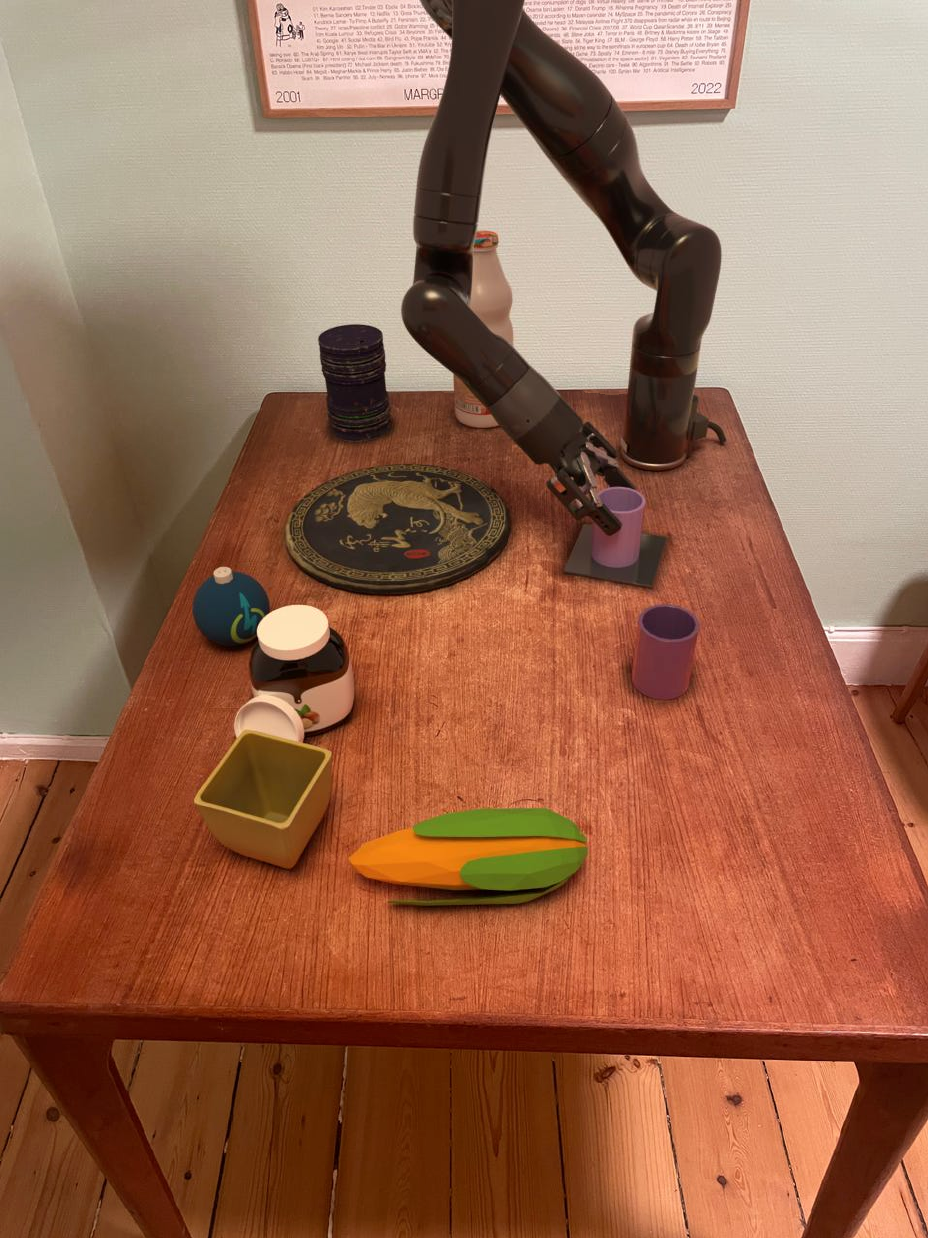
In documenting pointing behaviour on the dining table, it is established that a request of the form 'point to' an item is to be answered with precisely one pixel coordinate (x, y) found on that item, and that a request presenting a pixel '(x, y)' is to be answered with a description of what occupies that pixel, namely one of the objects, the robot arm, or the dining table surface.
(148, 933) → the dining table surface
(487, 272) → the fruit juice
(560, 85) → the robot arm
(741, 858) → the dining table surface
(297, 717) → the spread jar
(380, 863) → the corn
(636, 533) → the lilac cup
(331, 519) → the decorative plate
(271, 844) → the flower pot
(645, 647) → the plum cup
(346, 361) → the dark purple cylinder
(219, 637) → the christmas ornament
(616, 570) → the coaster
